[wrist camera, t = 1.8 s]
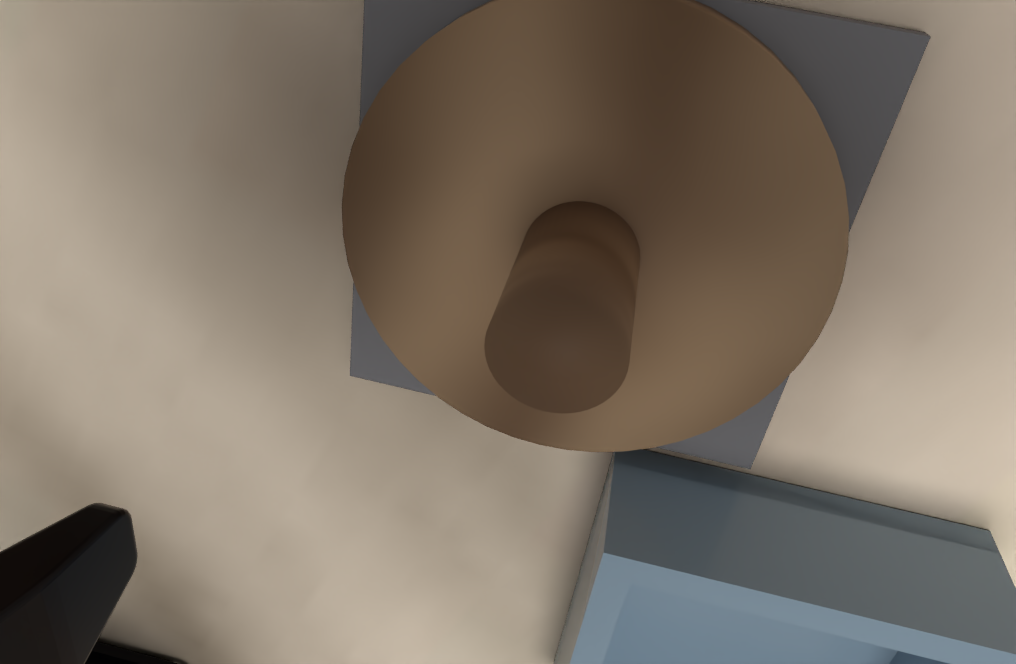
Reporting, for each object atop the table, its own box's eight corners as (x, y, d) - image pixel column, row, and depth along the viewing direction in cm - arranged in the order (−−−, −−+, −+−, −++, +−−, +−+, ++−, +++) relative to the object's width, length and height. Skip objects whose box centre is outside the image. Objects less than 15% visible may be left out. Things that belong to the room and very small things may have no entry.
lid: (349, 375, 22) (269, 501, 17) (367, -68, 16) (252, -38, 11) (749, 469, 21) (767, 626, 17) (930, 36, 15) (1028, 111, 11)
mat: (354, 367, 22) (350, 375, 22) (373, -69, 16) (367, -67, 16) (749, 459, 21) (750, 469, 21) (925, 32, 15) (930, 37, 15)
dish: (553, 662, 27) (534, 778, 24) (616, 443, 22) (603, 552, 18) (848, 739, 26) (871, 870, 23) (989, 530, 21) (1048, 662, 17)
